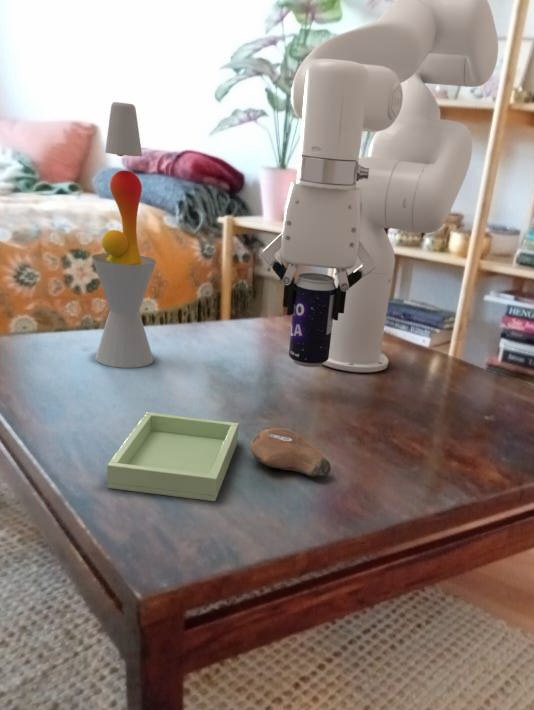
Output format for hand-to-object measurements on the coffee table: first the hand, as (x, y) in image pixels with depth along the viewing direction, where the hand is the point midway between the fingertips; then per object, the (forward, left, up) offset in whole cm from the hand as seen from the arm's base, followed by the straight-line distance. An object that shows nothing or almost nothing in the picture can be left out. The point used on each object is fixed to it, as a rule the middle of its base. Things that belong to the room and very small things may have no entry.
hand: (312, 314), depth 97 cm
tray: (+28, -12, -12) cm, 32 cm away
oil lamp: (+25, 0, -12) cm, 28 cm away
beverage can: (0, 0, -7) cm, 7 cm away
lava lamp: (-6, -28, -12) cm, 31 cm away
